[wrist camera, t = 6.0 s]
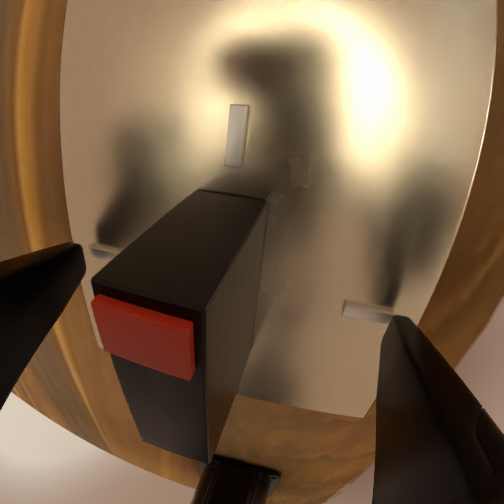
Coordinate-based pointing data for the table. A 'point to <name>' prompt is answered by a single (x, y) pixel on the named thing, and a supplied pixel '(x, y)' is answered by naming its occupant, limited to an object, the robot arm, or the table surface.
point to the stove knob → (184, 318)
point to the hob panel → (286, 157)
